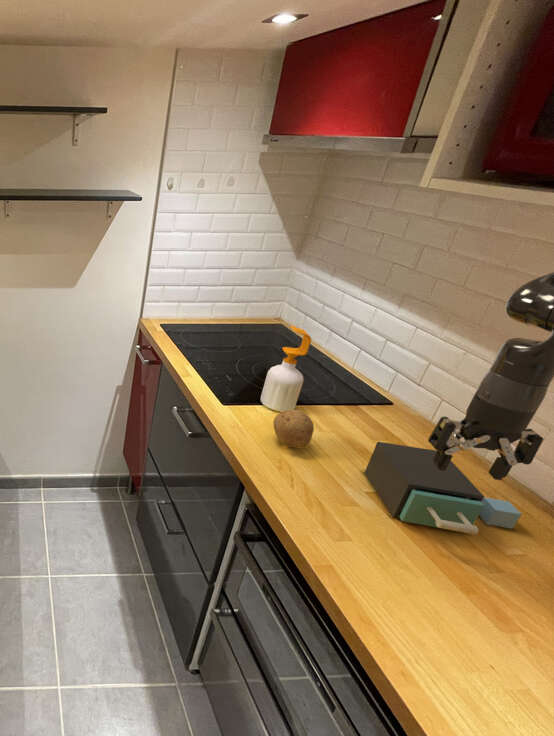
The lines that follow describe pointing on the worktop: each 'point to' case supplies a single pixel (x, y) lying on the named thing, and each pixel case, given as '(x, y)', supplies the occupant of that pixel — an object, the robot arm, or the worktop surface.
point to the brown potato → (293, 428)
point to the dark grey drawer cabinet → (413, 475)
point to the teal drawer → (441, 510)
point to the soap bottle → (285, 378)
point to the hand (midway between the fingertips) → (466, 472)
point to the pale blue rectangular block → (499, 513)
